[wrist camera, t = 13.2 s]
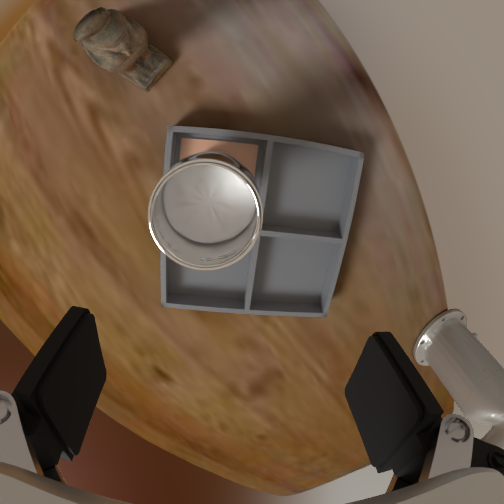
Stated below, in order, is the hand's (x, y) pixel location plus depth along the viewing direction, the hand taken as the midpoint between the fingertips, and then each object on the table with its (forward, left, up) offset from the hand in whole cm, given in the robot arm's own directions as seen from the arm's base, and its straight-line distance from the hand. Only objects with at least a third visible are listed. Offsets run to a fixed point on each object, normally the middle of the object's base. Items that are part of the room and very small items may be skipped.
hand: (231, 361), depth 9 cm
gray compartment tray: (-3, +3, -25) cm, 25 cm away
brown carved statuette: (+14, -16, -25) cm, 33 cm away
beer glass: (+2, -2, -24) cm, 24 cm away
